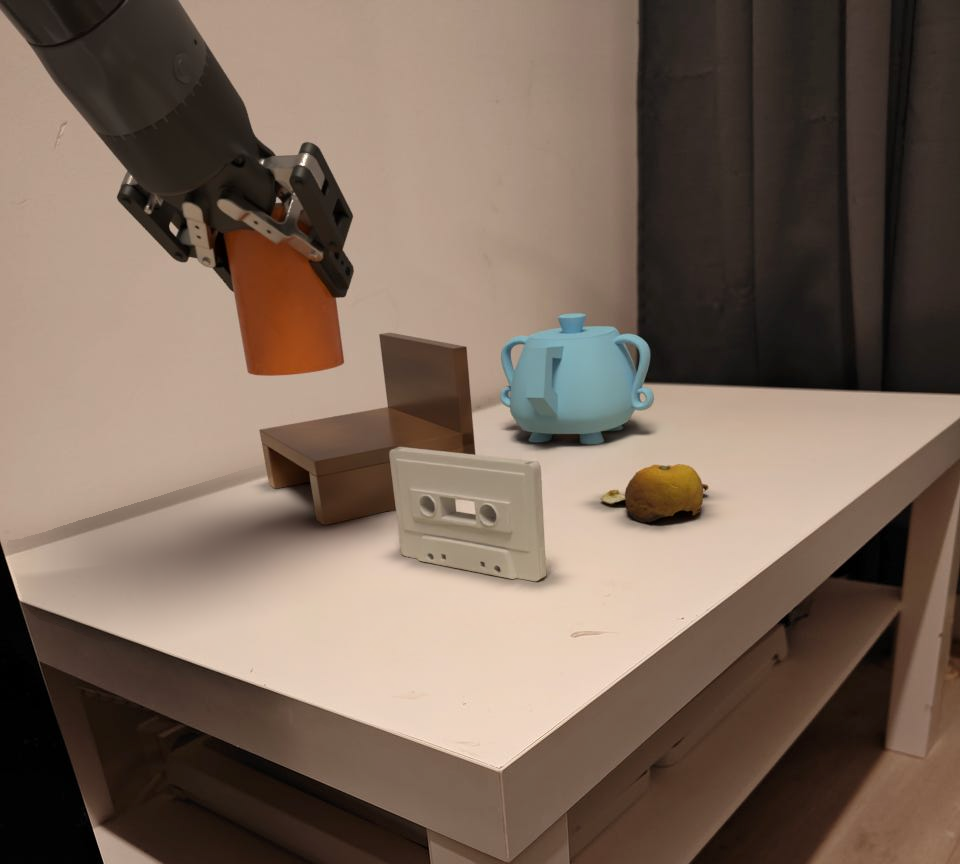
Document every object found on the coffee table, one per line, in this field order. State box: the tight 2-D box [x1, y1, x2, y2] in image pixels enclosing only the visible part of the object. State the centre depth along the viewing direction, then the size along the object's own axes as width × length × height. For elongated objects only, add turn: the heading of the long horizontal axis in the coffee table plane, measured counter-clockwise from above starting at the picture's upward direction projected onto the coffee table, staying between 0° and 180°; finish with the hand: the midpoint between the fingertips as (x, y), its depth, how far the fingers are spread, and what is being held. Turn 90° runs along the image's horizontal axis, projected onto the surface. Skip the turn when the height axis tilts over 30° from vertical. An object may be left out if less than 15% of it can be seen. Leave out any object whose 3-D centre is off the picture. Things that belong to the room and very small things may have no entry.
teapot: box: [499, 312, 655, 445], centre depth 95 cm, size 20×17×12 cm
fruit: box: [600, 463, 709, 523], centre depth 71 cm, size 8×8×4 cm
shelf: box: [259, 332, 476, 526], centre depth 81 cm, size 14×16×12 cm
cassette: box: [389, 447, 547, 582], centre depth 62 cm, size 12×2×8 cm, turn 53°
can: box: [224, 201, 345, 377], centre depth 62 cm, size 7×7×10 cm
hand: (297, 288), depth 63 cm, fingers closed on can, 6 cm apart
